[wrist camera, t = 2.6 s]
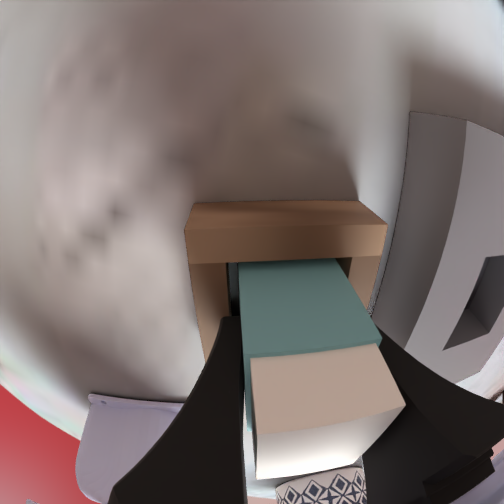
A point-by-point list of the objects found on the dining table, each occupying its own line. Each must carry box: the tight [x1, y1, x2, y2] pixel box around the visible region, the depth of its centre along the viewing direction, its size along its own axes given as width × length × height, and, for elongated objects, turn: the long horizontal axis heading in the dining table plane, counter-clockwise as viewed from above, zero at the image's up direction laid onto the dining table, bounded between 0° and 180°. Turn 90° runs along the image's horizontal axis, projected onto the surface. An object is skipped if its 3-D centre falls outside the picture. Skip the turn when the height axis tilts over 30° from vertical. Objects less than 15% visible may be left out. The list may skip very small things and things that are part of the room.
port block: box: [371, 112, 504, 384], centre depth 11 cm, size 11×16×4 cm
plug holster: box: [184, 200, 388, 363], centre depth 11 cm, size 7×8×2 cm
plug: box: [238, 258, 406, 479], centre depth 9 cm, size 4×4×8 cm
